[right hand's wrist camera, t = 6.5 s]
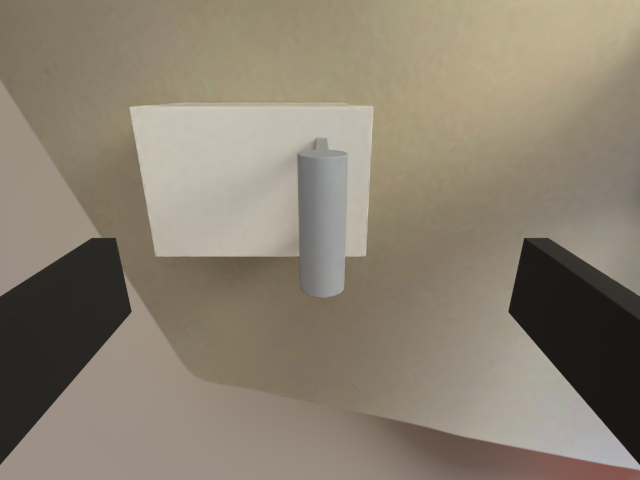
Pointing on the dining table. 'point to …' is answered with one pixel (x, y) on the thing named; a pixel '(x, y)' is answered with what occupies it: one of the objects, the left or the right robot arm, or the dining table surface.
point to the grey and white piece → (258, 184)
